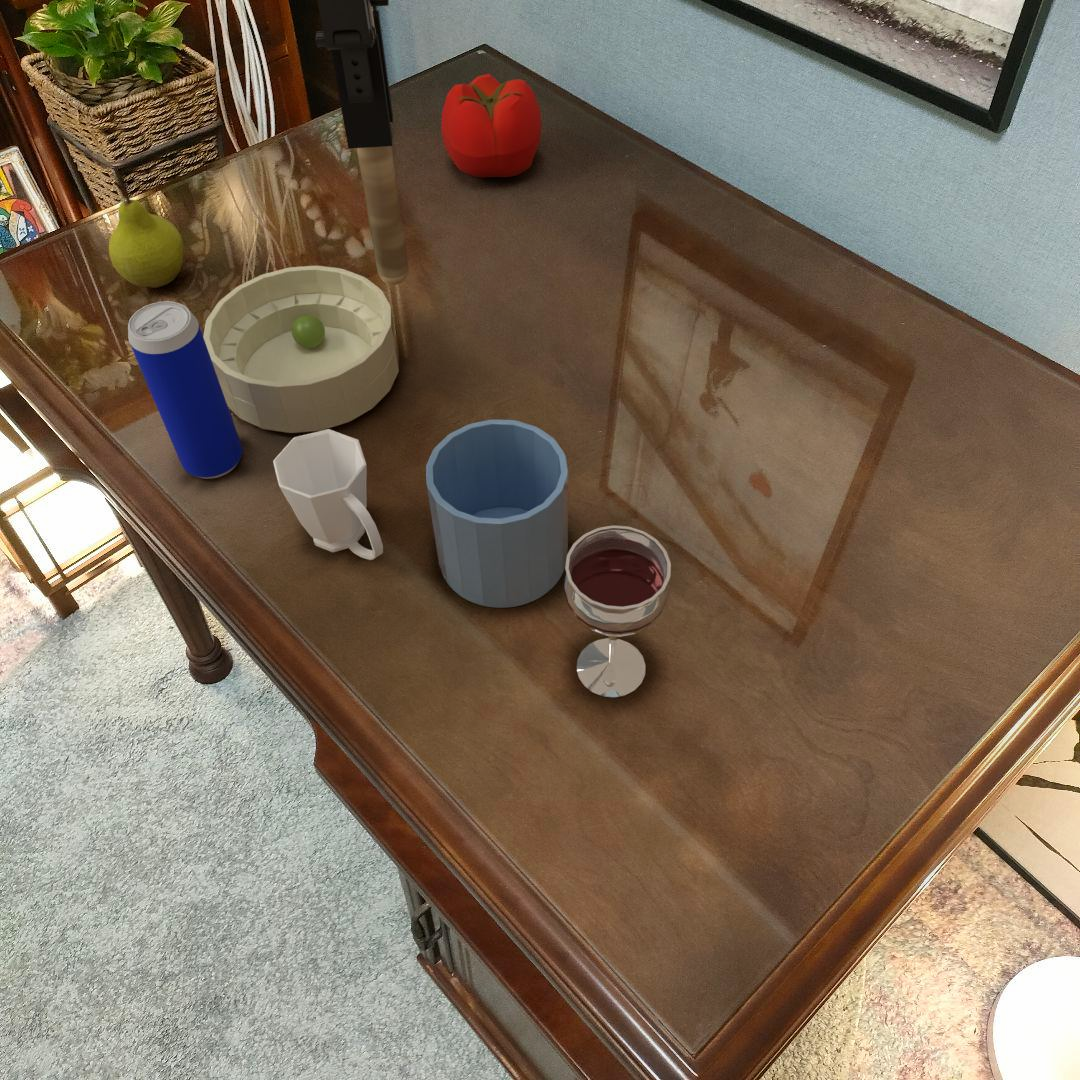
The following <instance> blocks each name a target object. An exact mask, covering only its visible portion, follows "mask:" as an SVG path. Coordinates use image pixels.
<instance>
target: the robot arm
mask: <svg viewBox="0 0 1080 1080" xmlns="http://www.w3.org/2000/svg"><path fill="white" fill-rule="evenodd" d="M389 2H390V0H316V3H317V8H318V13H319V17H320V24H321V27H322V30H321V31H319V30H317V31H316V34H315V38H314V40H315V41H314V42H315V45H316V47H317V48H325V49H326V50H327V51H330V53H331V59H332V65H333V70H334V71H333V72H334V75H335V82H336V87H337V92H338V99H339V103H340V109H341V116H342V120H343V126H344V132H345V137H346V143H347V148H348V149H349V150H350V149H357V148H368V147H385V146H392V147H393V134H392V126H391V123H394V114H393V112H394V111H393V106H392V99H391V92H390V91H391V90H390V85H389V76H388V68H387V62H386V55H385V48H384V40H383V34H382V26H381V18H380V17H381V16H380V12H379V10H372V12H373V19H374V26H375V27H374V26H373V23H372V15H371V8H370V4H371V7H372V8H373V7H388V6H389V5H390V3H389Z"/></svg>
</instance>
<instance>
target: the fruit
mask: <svg viewBox="0 0 1080 1080" xmlns="http://www.w3.org/2000/svg"><path fill="white" fill-rule="evenodd" d="M113 184H114V186H116V187H117V188H118V189H119V191H120V192H122V193H123V195H124V197H125V200H123V201H122V202H121V203H120V204H119V207H118V209H117V214H118V223H117V226H116V227H115V228H114V230H113V232H112V234H111V236H110V238H109V241H108V255H109V258H110V259H109V260H110V261H111V264H112V266H113V268H114V269H115V270H116V272H117V273H118V274H119V275H120V276H121V277H122V278H123V279H124V280H126V281H127V282H128V283H130V284H132V285H133V286H136V287H141V288H142V287H143V288H152V289H156V288H161V287H163V286H167V285H168V284H170V283H172V282H173V281H174V280H175V279H176V277H177V276H178V275H179V273H180V271H181V269H182V266H183V261H184V252H185V251H184V243H183V239H182V235H181V233H180V231H179V230H178V229H177V227H176V226H175V225H174V224H173V223H172V222H171V221H169V220H168V219H166V218H165V217H162V216H159V215H156V214H152V213H149V212H148V211H147V209H146V208H145V207H144V205H143V204H142V203H141V202H140V201H138V200H136V199H130V197H129V196H128V194H127V193H126V191H125V190H124V189H123V187H122V186H121V185H120V184H119V182H117V181H115V182H114V183H113Z"/></svg>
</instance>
